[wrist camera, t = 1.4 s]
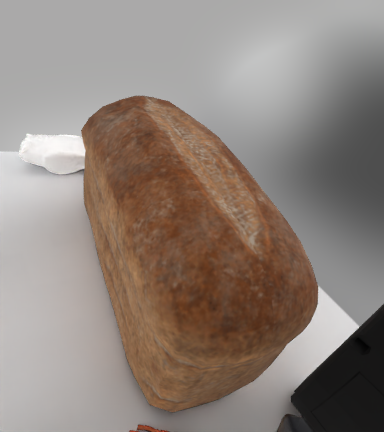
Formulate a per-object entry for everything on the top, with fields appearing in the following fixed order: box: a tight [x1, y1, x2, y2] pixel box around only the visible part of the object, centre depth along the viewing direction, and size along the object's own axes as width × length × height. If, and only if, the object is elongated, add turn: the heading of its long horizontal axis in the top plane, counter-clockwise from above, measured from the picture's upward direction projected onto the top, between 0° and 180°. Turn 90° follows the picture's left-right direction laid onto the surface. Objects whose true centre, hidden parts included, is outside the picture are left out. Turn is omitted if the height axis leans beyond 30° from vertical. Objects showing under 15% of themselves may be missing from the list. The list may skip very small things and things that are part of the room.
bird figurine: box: [19, 133, 86, 175], centre depth 40 cm, size 5×7×10 cm
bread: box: [81, 96, 318, 412], centre depth 27 cm, size 12×28×14 cm, turn 24°
